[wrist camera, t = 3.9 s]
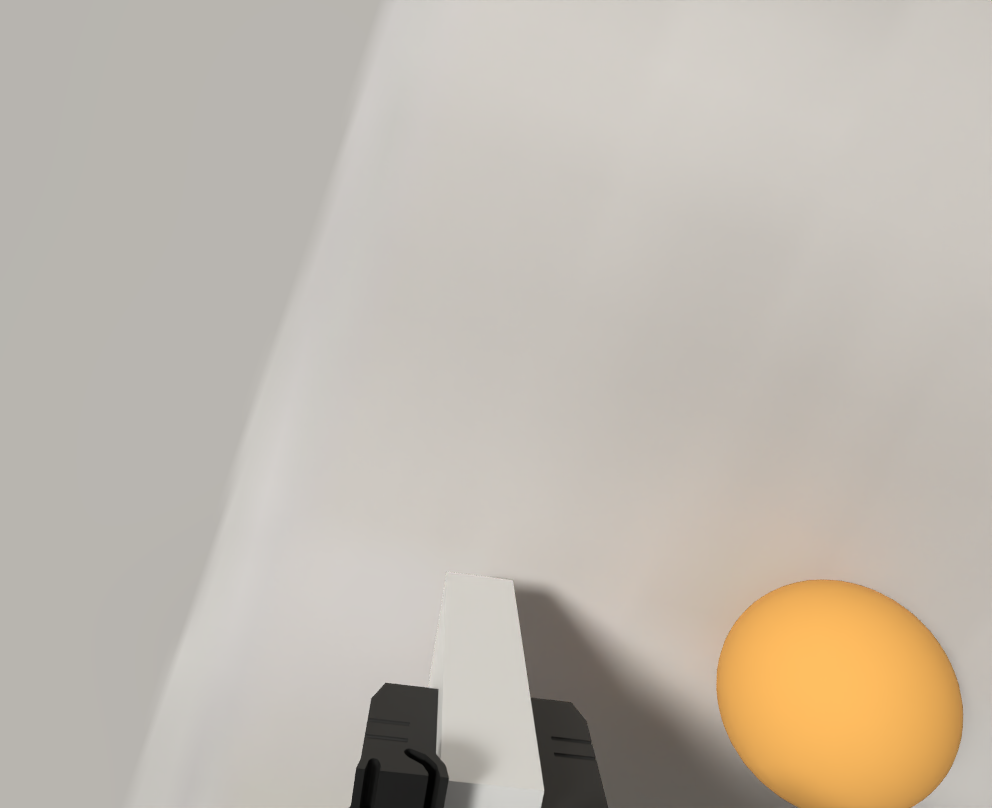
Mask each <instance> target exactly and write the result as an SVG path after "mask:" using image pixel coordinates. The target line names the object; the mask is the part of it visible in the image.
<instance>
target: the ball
mask: <svg viewBox="0 0 992 808" xmlns="http://www.w3.org/2000/svg"><path fill="white" fill-rule="evenodd" d="M717 699H718V705H719V710H720V714H721V718H722V721H723V724H724V727H725V729H726V732H727V734H728V736H729V738H730V741H731V743H732V745H733V746H734V748H735V749H736V751H737V753H738V754H739V756H740V757H741V759H742V760H743V762H744V763H745V765H746V766H747V767H748V768H749V769H750V770H751V771H752V773H753V774H754V775H755V776H756V777H757V778H758V779H759V780H760V781H761V782H762V783H763V784H764V785H766V786H767V787H768V788H769V789H770V790H772V791H773V792H774V793H775V794H777V795H778V796H780V797H781V798H783V799H784V800H786V801H788V802H789V803H791V804H793V805H795V806H797V807H799V808H911V807H913V806H915V805H916V804H918V803H919V802H921V801H922V800H923V799H925V798H926V797H927V796H928V795H929V794H931V793H932V792H933V791H934V790H935V789H936V788H937V786H938V785H939V784H940V783H941V782H942V780H943V779H944V778H945V777H946V775H947V773H948V772H949V770H950V768H951V767H952V764H953V762H954V760H955V757H956V754H957V752H958V748H959V745H960V741H961V736H962V728H963V705H962V700H961V694H960V689H959V684H958V681H957V678H956V675H955V673H954V670H953V668H952V665H951V663H950V661H949V659H948V657H947V655H946V653H945V652H944V650H943V649H942V647H941V646H940V644H939V642H938V641H937V640H936V638H935V637H934V636H933V634H932V633H931V632H930V631H929V630H928V629H927V628H926V626H925V625H924V624H923V623H922V622H921V621H920V620H919V619H918V618H917V617H915V616H914V615H913V614H912V613H911V612H909V611H908V610H907V609H905V608H904V607H903V606H901V605H900V604H898V603H897V602H896V601H894V600H893V599H891V598H889V597H887V596H885V595H883V594H881V593H879V592H877V591H875V590H872V589H870V588H867V587H864V586H861V585H857V584H853V583H849V582H844V581H837V580H807V581H802V582H796V583H793V584H789V585H786V586H783V587H781V588H779V589H776V590H774V591H772V592H770V593H768V594H766V595H765V596H763V597H761V598H760V599H758V600H757V601H756V602H754V603H753V604H752V605H751V606H750V607H749V608H748V609H747V610H746V611H745V612H744V613H743V614H742V615H741V616H740V617H739V619H738V620H737V621H736V622H735V624H734V625H733V627H732V628H731V630H730V631H729V634H728V636H727V638H726V640H725V642H724V645H723V648H722V651H721V654H720V658H719V662H718V668H717Z"/></svg>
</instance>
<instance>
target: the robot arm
mask: <svg viewBox="0 0 992 808" xmlns="http://www.w3.org/2000/svg"><path fill="white" fill-rule="evenodd" d="M349 808H608V805H607V801H606V797H605V794H604V790H603V786H602V782H601V778H600V774H599V770H598V766H597V762H596V761H595V754H594V750H593V746H592V745H591V738H590V734H589V730H588V726H587V722H586V720H585V719H584V718H583V716H582V715H581V714H580V713H579V711H578V710H577V709H576V708H575V707H574V705H573V704H572V703H571V702H563V701H554V700H546V699H537V698H530V692H529V685H528V678H527V671H526V665H525V658H524V651H523V645H522V638H521V631H520V624H519V618H518V611H517V604H516V598H515V591H514V584H513V580H509V579H501V578H494V577H486V576H478V575H470V574H463V573H455V572H446V578H445V585H444V591H443V597H442V603H441V609H440V616H439V622H438V628H437V634H436V640H435V646H434V653H433V659H432V665H431V671H430V677H429V688H425V687H417V686H408V685H400V684H391V683H385V684H384V685H383V686H382V687H381V689H380V690H379V691H378V692H377V693H376V694H375V695H374V696H373V697H372V698H371V704H370V710H369V715H368V722H367V727H366V732H365V738H364V744H363V749H362V755H361V759H360V761H359V764H358V766H357V768H356V774H355V781H354V788H353V795H352V802H351V806H350V807H349Z"/></svg>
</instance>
